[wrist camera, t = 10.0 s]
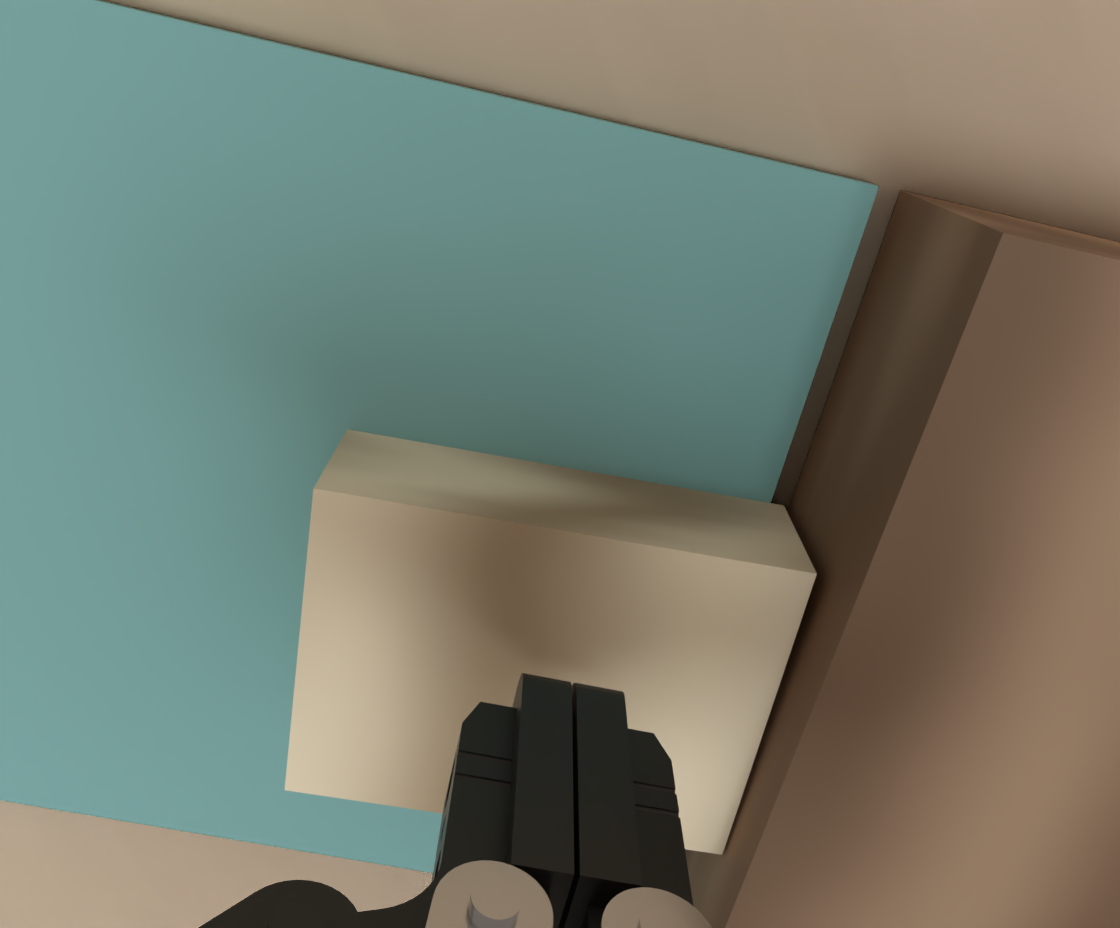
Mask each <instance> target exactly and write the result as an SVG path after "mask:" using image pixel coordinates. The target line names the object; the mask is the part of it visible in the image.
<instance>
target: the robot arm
mask: <svg viewBox="0 0 1120 928" xmlns="http://www.w3.org/2000/svg"><path fill="white" fill-rule="evenodd" d="M675 789H676V787H675V781H674V774H673V767H672V761H671V759H670V757H669V756H668V754H667V753H666V751H665V750H664V748H663V747H662V745H661V744H660V742H659V741H658V739H657V738H656V736H655V734H654V733H650V732H645V731H639V730H634V729H628V725H627V714H626V704H625V695H624V692H623V691H618V690H612V689H607V688H602V687H596V686H591V685H586V684H580V683H575V682H574V683H573V685H572V684H571V682H569V681H563V680H558V679H553V678H547V677H542V676H537V675H531V674H526V673H522V674H521V676H520V679H519V682H518V686H517V690H516V694H515V698H514V702H513V706H512V707H508V706H502V705H497V704H491V703H486V702H480V703H479V704H478V705H477V706H476V707H475V708H474V710H473V711H472V712H471V713H470V714H469V715H468V717H467V718H466V719H465V720H464V721H463V722H462V726H461V731H460V735H459V740H458V744H457V749H456V753H455V758H454V762H453V766H452V771H451V775H450V780H449V784H448V789H447V793H446V797H445V802H444V807H443V814H442V820H441V826H440V832H439V833H440V834H439V839H438V845H437V851H436V859H435V864H434V870H433V877H432V883H431V884H430V885H429V886H428V887H427V888H426V889H425V890H424V891H423V892H422V893H421V894H419V895H418V896H416V897H415V898H413V899H411V900H409V901H407V902H405V903H403V904H400V905H397V906H394V907H390V908H385V909H378V910H371V911H363V912H357V910H356V908H355V907H354V905H353V904H352V903H351V902H350V901H349V899H348V898H347V897H345V896H344V895H343V894H342V893H340V892H339V891H337V890H335V889H334V888H332V887H330V886H327V885H324V884H322V883H318V882H313V881H307V880H291V881H284V882H279V883H275V884H272V885H269V886H266V887H264V888H262V889H260V890H259V891H257V892H255V893H253V894H252V895H250V896H248V897H247V898H245V899H244V900H242V901H240V902H239V903H237V904H236V905H234V906H232V907H231V908H229V909H228V910H226V911H224V912H223V913H221V914H220V915H218V916H216V917H215V918H213V919H212V920H210V921H208V922H207V923H205V924H204V925H202V926H201V927H199V928H712V927H711V926H710V924H709V923H708V921H707V920H706V919H705V917H704V916H703V915H702V914H701V913H700V912H699V911H698V910H697V909H696V908H695V907H694V905H693V899H692V893H691V886H690V880H689V873H688V866H687V860H686V853H685V847H684V840H683V833H682V827H681V820H680V818H679V817H678V816H679V807H678V800H677V794H675Z"/></svg>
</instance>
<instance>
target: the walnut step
mask: <svg viewBox="0 0 1120 928" xmlns="http://www.w3.org/2000/svg"><path fill="white" fill-rule="evenodd" d="M787 513H788V515H789V517H790V519H791V521H792V523H793V525H794V527H795V529H796V532H797V534H798V536H799V538H800V540H801V542H802V544H803V546H804V548H805V550H806V552H807V554H808V556H809V558H810V561H811V563H812V565H813V567H814V569H815V571H816V573H817V575H816V578H815V581H814V584H813V587H812V590H811V593H810V596H809V599H808V602H807V605H806V608H805V611H804V614H803V617H802V620H801V623H800V626H799V629H798V632H797V635H796V637H795V640H794V643H793V646H792V649H791V652H790V655H789V658H788V661H787V664H786V667H785V670H784V673H783V676H782V679H781V682H780V685H779V688H778V691H777V694H776V697H775V700H774V703H773V706H772V709H771V712H770V715H769V718H768V721H767V724H766V726H765V729H764V732H763V735H762V738H761V741H760V744H759V747H758V750H757V753H756V756H755V759H754V762H753V765H752V768H751V771H750V774H749V777H748V780H747V783H746V786H745V789H744V792H743V795H742V798H741V801H740V804H739V807H738V810H737V813H736V815H735V818H734V821H733V824H732V827H731V830H730V833H729V836H728V839H727V842H726V845H725V848H724V851H723V854H722V855H720V854H714V853H707V852H700V851H693V850H686V849H685V853H686V860H687V866H688V873H689V880H690V886H691V893H692V899H693V905H694V907H695V908H696V909H697V910H698V911H699V912H700V913H701V914H702V915H703V916H704V917H705V919H706V920H707V921H708V923H709V924H710V926H711V927H712V928H1120V242H1117V241H1113V240H1108V239H1104V238H1100V237H1096V236H1092V235H1087V234H1083V233H1079V232H1075V231H1070V230H1066V229H1062V228H1058V227H1054V226H1049V225H1045V224H1041V223H1037V222H1033V221H1028V220H1024V219H1020V218H1016V217H1012V216H1007V215H1003V214H999V213H995V212H990V211H986V210H982V209H978V208H974V207H969V206H965V205H961V204H957V203H953V202H948V201H944V200H940V199H936V198H932V197H927V196H923V195H919V194H915V193H910V192H906V191H902V190H901V191H900V194H899V197H898V200H897V202H896V205H895V208H894V211H893V214H892V217H891V219H890V222H889V225H888V228H887V231H886V234H885V236H884V239H883V242H882V245H881V248H880V251H879V254H878V256H877V259H876V262H875V265H874V268H873V271H872V273H871V276H870V279H869V282H868V285H867V288H866V290H865V293H864V296H863V299H862V302H861V305H860V307H859V310H858V313H857V316H856V319H855V322H854V324H853V327H852V330H851V333H850V336H849V339H848V341H847V344H846V347H845V350H844V353H843V356H842V359H841V361H840V364H839V367H838V370H837V373H836V376H835V378H834V381H833V384H832V387H831V390H830V393H829V395H828V398H827V401H826V404H825V407H824V410H823V412H822V415H821V418H820V421H819V424H818V427H817V429H816V432H815V435H814V438H813V441H812V444H811V446H810V449H809V452H808V455H807V458H806V461H805V463H804V466H803V469H802V472H801V475H800V478H799V481H798V483H797V486H796V489H795V492H794V495H793V498H792V500H791V503H790V506H789V509H788V512H787Z"/></svg>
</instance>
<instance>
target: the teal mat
mask: <svg viewBox="0 0 1120 928" xmlns="http://www.w3.org/2000/svg"><path fill="white" fill-rule="evenodd" d="M878 189H879V186H877V185H875V184H872V183H868V182H864V181H860V180H856V179H851V178H847V177H843V176H839V175H835V174H830V173H826V172H822V171H818V170H814V169H809V168H805V167H801V166H797V165H793V164H788V163H784V162H780V161H776V160H771V159H767V158H763V157H759V156H755V155H750V154H746V153H742V152H738V151H734V150H729V149H725V148H721V147H717V146H713V145H708V144H704V143H700V142H696V141H691V140H687V139H683V138H679V137H675V136H670V135H666V134H662V133H658V132H654V131H649V130H645V129H641V128H637V127H633V126H628V125H624V124H620V123H616V122H611V121H607V120H603V119H599V118H595V117H590V116H586V115H582V114H578V113H574V112H569V111H565V110H561V109H557V108H553V107H548V106H544V105H540V104H536V103H531V102H527V101H523V100H519V99H515V98H510V97H506V96H502V95H498V94H494V93H489V92H485V91H481V90H477V89H473V88H468V87H464V86H460V85H456V84H451V83H447V82H443V81H439V80H435V79H430V78H426V77H422V76H418V75H414V74H409V73H405V72H401V71H397V70H392V69H388V68H384V67H380V66H376V65H371V64H367V63H363V62H359V61H355V60H350V59H346V58H342V57H338V56H334V55H329V54H325V53H321V52H317V51H312V50H308V49H304V48H300V47H296V46H291V45H287V44H283V43H279V42H275V41H270V40H266V39H262V38H258V37H254V36H249V35H245V34H241V33H237V32H232V31H228V30H224V29H220V28H216V27H211V26H207V25H203V24H199V23H195V22H190V21H186V20H182V19H178V18H174V17H169V16H165V15H161V14H157V13H152V12H148V11H144V10H140V9H136V8H131V7H127V6H123V5H119V4H115V3H110V2H106V1H102V0H0V800H1V801H7V802H13V803H19V804H25V805H31V806H37V807H43V808H49V809H55V810H61V811H67V812H73V813H79V814H85V815H90V816H96V817H102V818H108V819H114V820H120V821H126V822H132V823H138V824H144V825H150V826H156V827H162V828H168V829H174V830H180V831H186V832H191V833H197V834H203V835H209V836H215V837H221V838H227V839H233V840H239V841H245V842H251V843H257V844H263V845H269V846H275V847H281V848H287V849H293V850H298V851H304V852H310V853H316V854H322V855H328V856H334V857H340V858H346V859H352V860H358V861H364V862H370V863H376V864H382V865H388V866H394V867H399V868H405V869H411V870H417V871H423V872H429V873H433V870H434V864H435V859H436V851H437V845H438V839H439V834H440V833H439V832H440V826H441V820H442V813H436V812H429V811H422V810H415V809H408V808H402V807H395V806H388V805H381V804H375V803H368V802H361V801H354V800H347V799H341V798H334V797H327V796H320V795H314V794H307V793H300V792H293V791H286V790H285V780H286V769H287V759H288V748H289V738H290V728H291V717H292V707H293V696H294V686H295V675H296V665H297V654H298V644H299V634H300V623H301V613H302V602H303V592H304V581H305V571H306V561H307V550H308V540H309V529H310V519H311V508H312V498H313V488H314V487H315V485H316V483H317V481H318V480H319V478H320V476H321V474H322V473H323V471H324V469H325V467H326V466H327V464H328V462H329V460H330V458H331V457H332V455H333V453H334V451H335V450H336V448H337V446H338V444H339V443H340V441H341V439H342V437H343V436H344V434H345V432H346V430H347V429H348V430H354V431H360V432H366V433H371V434H377V435H383V436H388V437H394V438H400V439H406V440H411V441H417V442H423V443H429V444H434V445H440V446H446V447H452V448H457V449H463V450H469V451H474V452H480V453H486V454H492V455H497V456H503V457H509V458H515V459H520V460H526V461H532V462H538V463H543V464H549V465H555V466H560V467H566V468H572V469H578V470H583V471H589V472H595V473H601V474H606V475H612V476H618V477H624V478H629V479H635V480H641V481H646V482H652V483H658V484H664V485H669V486H675V487H681V488H687V489H692V490H698V491H704V492H710V493H715V494H721V495H727V496H732V497H738V498H744V499H750V500H755V501H761V502H767V503H771V500H772V497H773V494H774V492H775V489H776V486H777V483H778V480H779V477H780V474H781V471H782V468H783V465H784V462H785V459H786V457H787V454H788V451H789V448H790V445H791V442H792V439H793V436H794V433H795V430H796V427H797V425H798V422H799V419H800V416H801V413H802V410H803V407H804V404H805V401H806V398H807V395H808V392H809V390H810V387H811V384H812V381H813V378H814V375H815V372H816V369H817V366H818V363H819V360H820V358H821V355H822V352H823V349H824V346H825V343H826V340H827V337H828V334H829V331H830V328H831V325H832V323H833V320H834V317H835V314H836V311H837V308H838V305H839V302H840V299H841V296H842V293H843V291H844V288H845V285H846V282H847V279H848V276H849V273H850V270H851V267H852V264H853V261H854V258H855V256H856V253H857V250H858V247H859V244H860V241H861V238H862V235H863V232H864V229H865V226H866V224H867V221H868V218H869V215H870V212H871V209H872V206H873V203H874V200H875V197H876V194H877V191H878Z"/></svg>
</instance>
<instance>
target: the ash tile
mask: <svg viewBox="0 0 1120 928" xmlns="http://www.w3.org/2000/svg"><path fill="white" fill-rule="evenodd" d="M816 575H817V573H816V571H815V569H814V567H813V565H812V563H811V561H810V558H809V556H808V554H807V552H806V550H805V548H804V546H803V544H802V542H801V540H800V538H799V536H798V534H797V532H796V529H795V527H794V525H793V523H792V521H791V519H790V517H789V515H788V513H787V511H786V509H785V507H784V505H778V504H773V503H767V502H761V501H755V500H750V499H744V498H738V497H732V496H727V495H721V494H715V493H710V492H704V491H698V490H692V489H687V488H681V487H675V486H669V485H664V484H658V483H652V482H646V481H641V480H635V479H629V478H624V477H618V476H612V475H606V474H601V473H595V472H589V471H583V470H578V469H572V468H566V467H560V466H555V465H549V464H543V463H538V462H532V461H526V460H520V459H515V458H509V457H503V456H497V455H492V454H486V453H480V452H474V451H469V450H463V449H457V448H452V447H446V446H440V445H434V444H429V443H423V442H417V441H411V440H406V439H400V438H394V437H388V436H383V435H377V434H371V433H366V432H360V431H354V430H348V429H347V430H346V432H345V434H344V436H343V437H342V439H341V441H340V443H339V444H338V446H337V448H336V450H335V451H334V453H333V455H332V457H331V458H330V460H329V462H328V464H327V466H326V467H325V469H324V471H323V473H322V474H321V476H320V478H319V480H318V481H317V483H316V485H315V487H314V488H313V498H312V508H311V519H310V529H309V540H308V550H307V561H306V571H305V581H304V592H303V602H302V613H301V623H300V634H299V644H298V654H297V665H296V675H295V686H294V696H293V707H292V717H291V728H290V738H289V748H288V759H287V769H286V780H285V790H286V791H293V792H300V793H307V794H314V795H320V796H327V797H334V798H341V799H347V800H354V801H361V802H368V803H375V804H381V805H388V806H395V807H402V808H408V809H415V810H422V811H429V812H436V813H442V814H443V807H444V802H445V797H446V793H447V789H448V784H449V780H450V775H451V771H452V766H453V762H454V758H455V753H456V749H457V744H458V740H459V735H460V731H461V726H462V722H463V721H464V720H465V719H466V718H467V717H468V715H469V714H470V713H471V712H472V711H473V710H474V708H475V707H476V706H477V705H478V704H479V703H480V702H486V703H491V704H497V705H502V706H508V707H512V706H513V702H514V698H515V694H516V690H517V686H518V682H519V679H520V676H521V674H522V673H526V674H531V675H537V676H542V677H547V678H553V679H558V680H563V681H569V682H571V684H572V685H573V683H574V682H575V683H580V684H586V685H591V686H596V687H602V688H607V689H612V690H618V691H623V692H624V695H625V704H626V714H627V725H628V729H634V730H639V731H645V732H650V733H654V734H655V736H656V738H657V739H658V741H659V742H660V744H661V745H662V747H663V748H664V750H665V751H666V753H667V754H668V756H669V757H670V759H671V761H672V767H673V774H674V781H675V787H676V789H675V794H677V800H678V807H679V816H678V817H679V818H680V820H681V827H682V833H683V840H684V847H685V849H686V850H693V851H700V852H707V853H714V854H720V855H722V854H723V851H724V848H725V845H726V842H727V839H728V836H729V833H730V830H731V827H732V824H733V821H734V818H735V815H736V813H737V810H738V807H739V804H740V801H741V798H742V795H743V792H744V789H745V786H746V783H747V780H748V777H749V774H750V771H751V768H752V765H753V762H754V759H755V756H756V753H757V750H758V747H759V744H760V741H761V738H762V735H763V732H764V729H765V726H766V724H767V721H768V718H769V715H770V712H771V709H772V706H773V703H774V700H775V697H776V694H777V691H778V688H779V685H780V682H781V679H782V676H783V673H784V670H785V667H786V664H787V661H788V658H789V655H790V652H791V649H792V646H793V643H794V640H795V637H796V635H797V632H798V629H799V626H800V623H801V620H802V617H803V614H804V611H805V608H806V605H807V602H808V599H809V596H810V593H811V590H812V587H813V584H814V581H815V578H816Z"/></svg>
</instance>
